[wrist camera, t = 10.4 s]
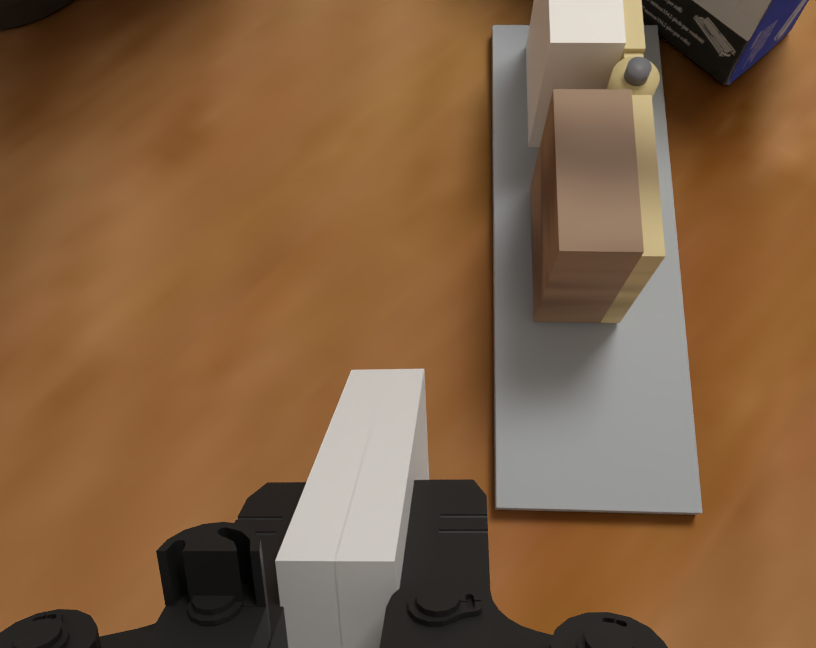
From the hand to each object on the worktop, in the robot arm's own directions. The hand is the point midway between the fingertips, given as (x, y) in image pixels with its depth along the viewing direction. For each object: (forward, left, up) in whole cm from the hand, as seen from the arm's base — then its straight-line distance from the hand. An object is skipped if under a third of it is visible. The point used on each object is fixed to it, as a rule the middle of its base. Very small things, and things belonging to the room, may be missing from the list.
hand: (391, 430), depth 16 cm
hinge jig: (-14, +10, -24) cm, 30 cm away
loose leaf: (-15, +10, -23) cm, 29 cm away
